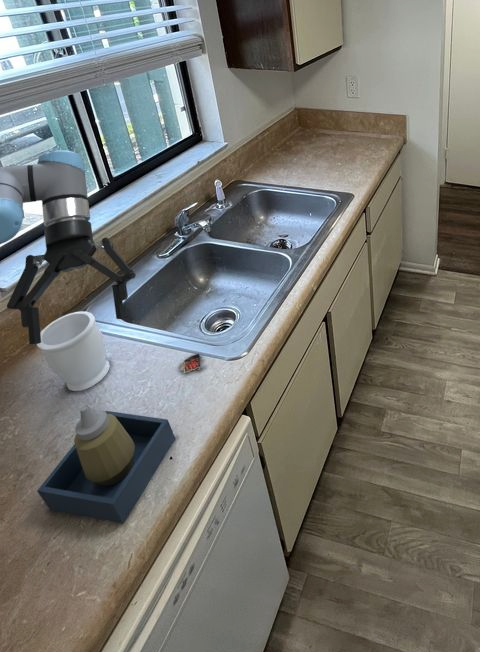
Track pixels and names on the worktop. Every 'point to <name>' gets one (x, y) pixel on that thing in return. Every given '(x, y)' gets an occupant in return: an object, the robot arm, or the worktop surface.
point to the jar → (75, 350)
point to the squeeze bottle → (103, 447)
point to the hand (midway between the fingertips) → (79, 330)
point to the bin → (119, 499)
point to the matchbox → (191, 363)
